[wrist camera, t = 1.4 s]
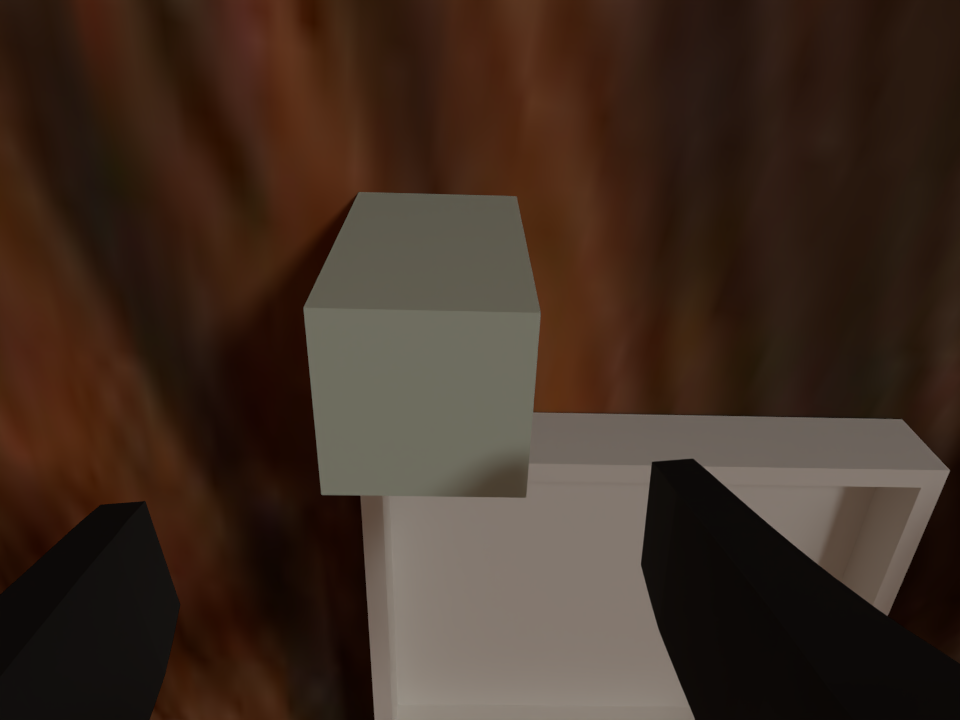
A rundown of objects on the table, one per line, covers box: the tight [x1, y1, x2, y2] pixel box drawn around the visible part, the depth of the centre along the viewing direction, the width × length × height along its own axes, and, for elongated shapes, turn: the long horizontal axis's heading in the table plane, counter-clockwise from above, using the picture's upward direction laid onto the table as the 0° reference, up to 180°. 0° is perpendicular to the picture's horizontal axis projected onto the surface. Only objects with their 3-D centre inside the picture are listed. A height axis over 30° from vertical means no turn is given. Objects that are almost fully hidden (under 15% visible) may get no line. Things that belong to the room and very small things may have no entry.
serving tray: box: [360, 413, 950, 720], centre depth 24 cm, size 16×13×2 cm
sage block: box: [303, 192, 541, 498], centre depth 16 cm, size 4×4×7 cm
